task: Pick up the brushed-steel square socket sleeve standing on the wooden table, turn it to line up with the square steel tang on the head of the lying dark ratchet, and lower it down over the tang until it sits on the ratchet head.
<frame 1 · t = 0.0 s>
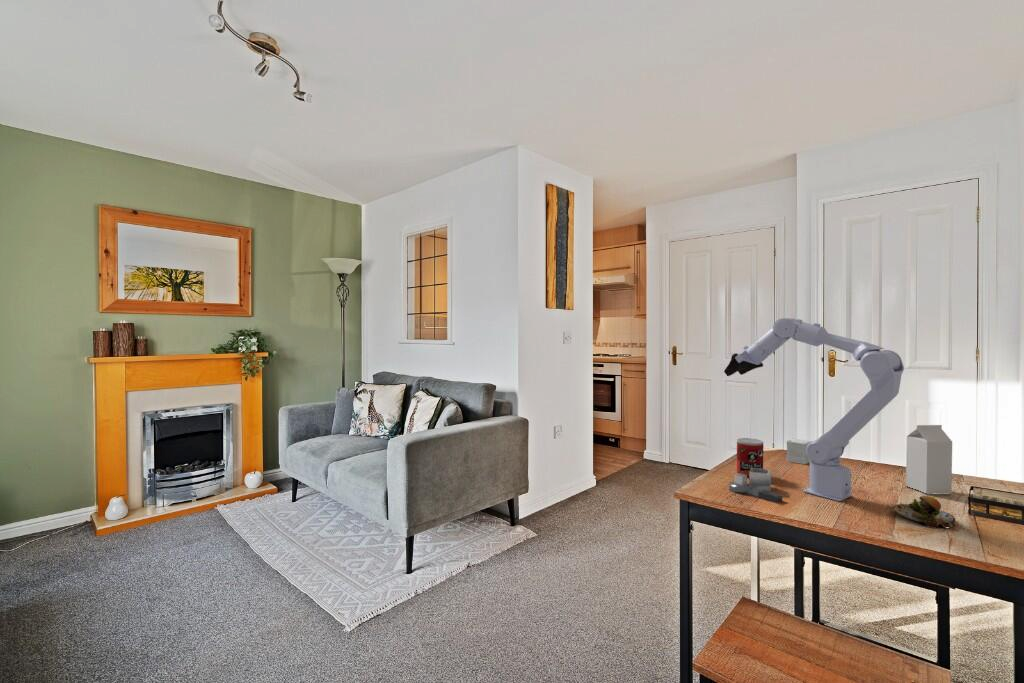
hand: (732, 373, 158), 32 cm above the table, tool tilted 50°, fingers open, 7 cm apart
milk carton: (928, 491, 138), on the table
skincare box: (798, 462, 168), on the table
socket: (760, 487, 141), on the table
ratchet: (740, 490, 138), on the table
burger: (923, 520, 117), on the table
canned food: (749, 475, 153), on the table
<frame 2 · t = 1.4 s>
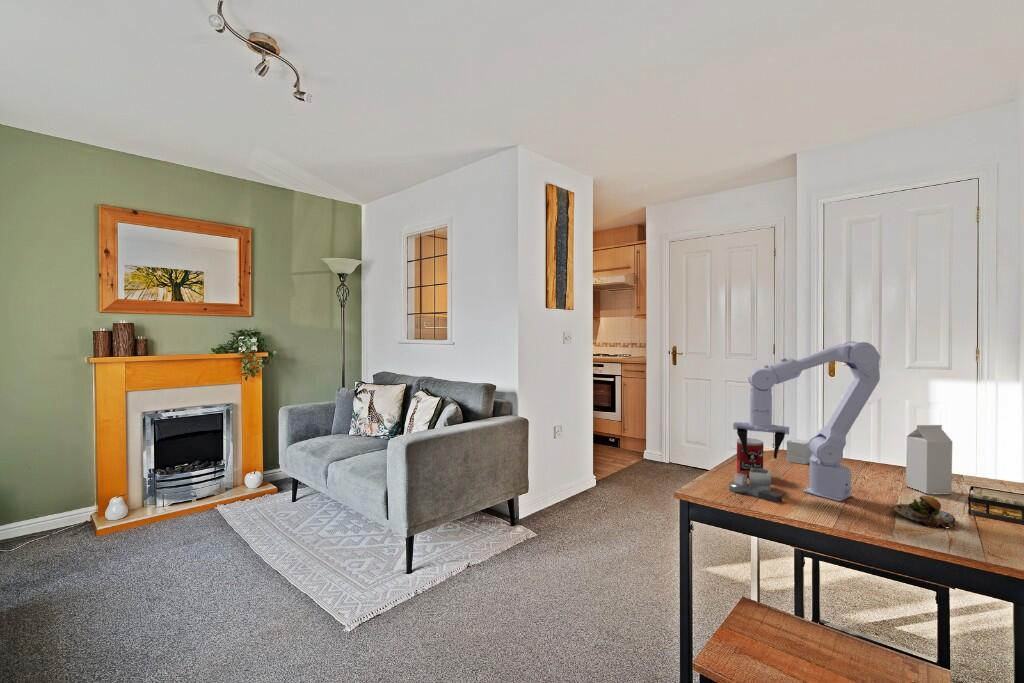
hand: (760, 456, 140), 9 cm above the table, tool pointing down, fingers open, 7 cm apart
nothing on the table moved.
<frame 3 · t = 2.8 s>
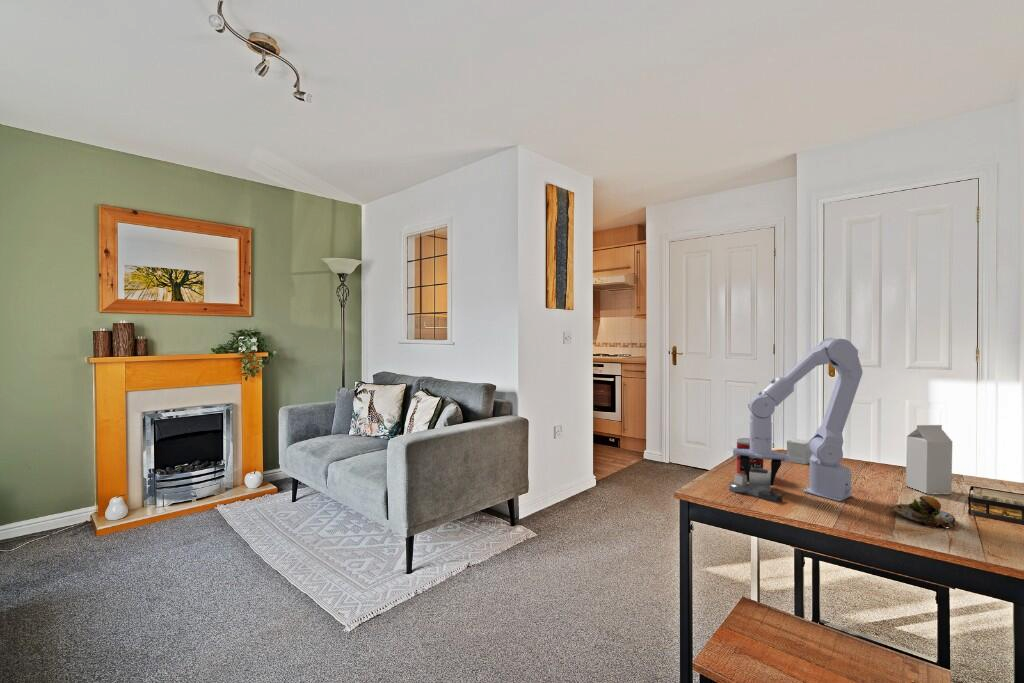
hand: (760, 483, 141), 1 cm above the table, tool pointing down, fingers closed on socket, 5 cm apart
socket: (760, 487, 141), on the table, touching gripper
everything else where it was.
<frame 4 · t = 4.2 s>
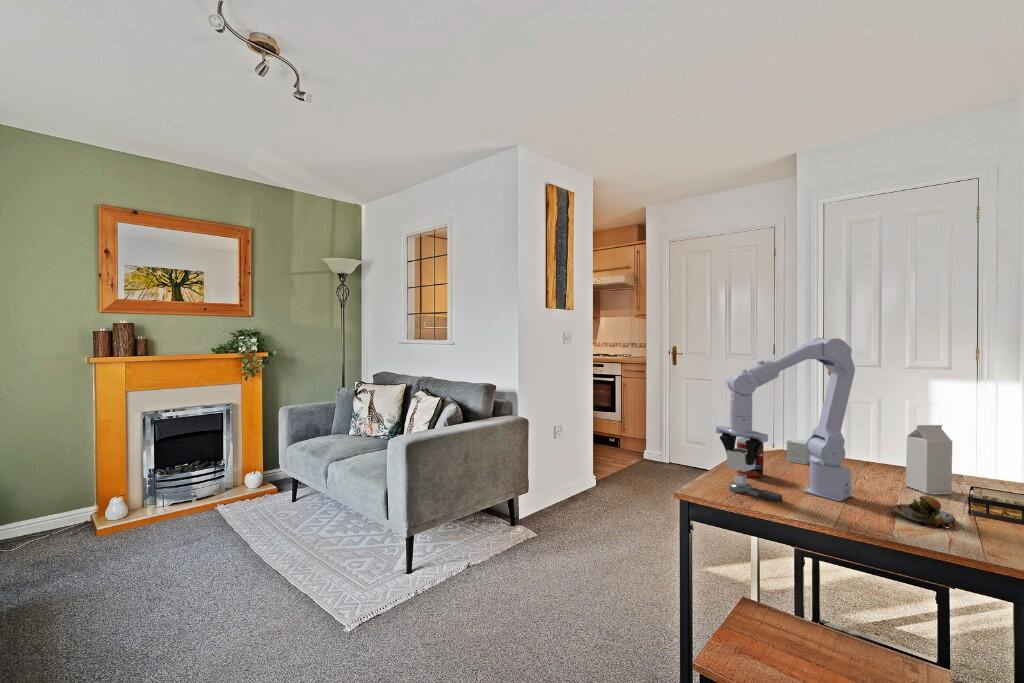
hand: (740, 462, 138), 8 cm above the table, tool pointing down, fingers closed on socket, 5 cm apart
socket: (740, 467, 138), point 7 cm above the table, touching gripper
everything else where it was.
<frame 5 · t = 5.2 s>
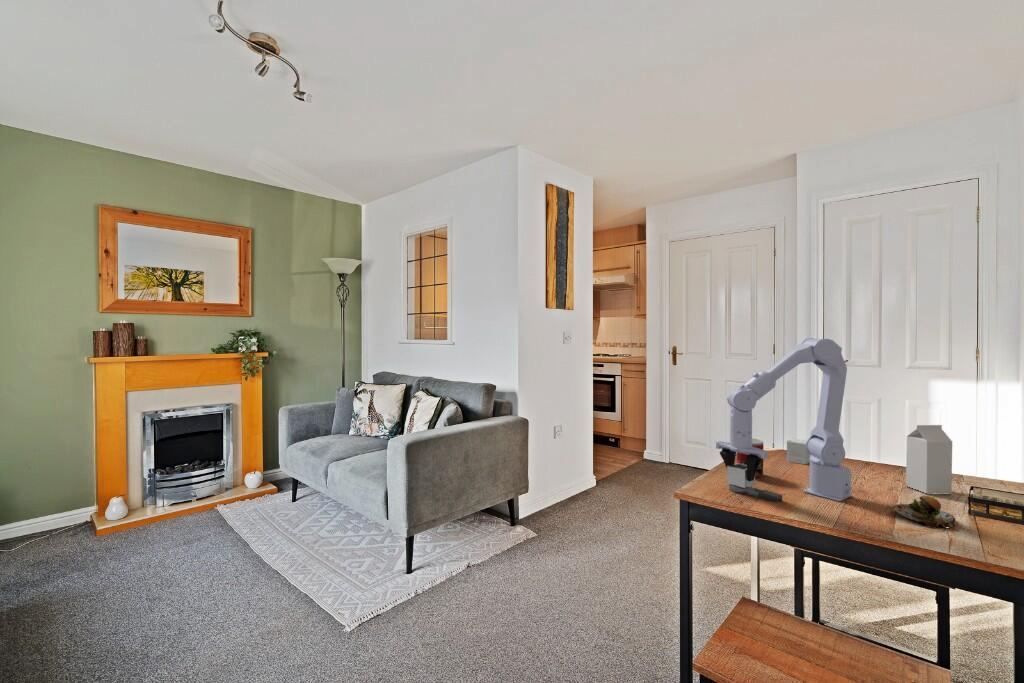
hand: (740, 477, 138), 4 cm above the table, tool pointing down, fingers closed on socket, 5 cm apart
socket: (740, 483, 138), point 2 cm above the table, touching gripper
everything else where it was.
when the fingers open (4 cm above the table, at t = 6.0 s): socket stays where it is, resting on ratchet.
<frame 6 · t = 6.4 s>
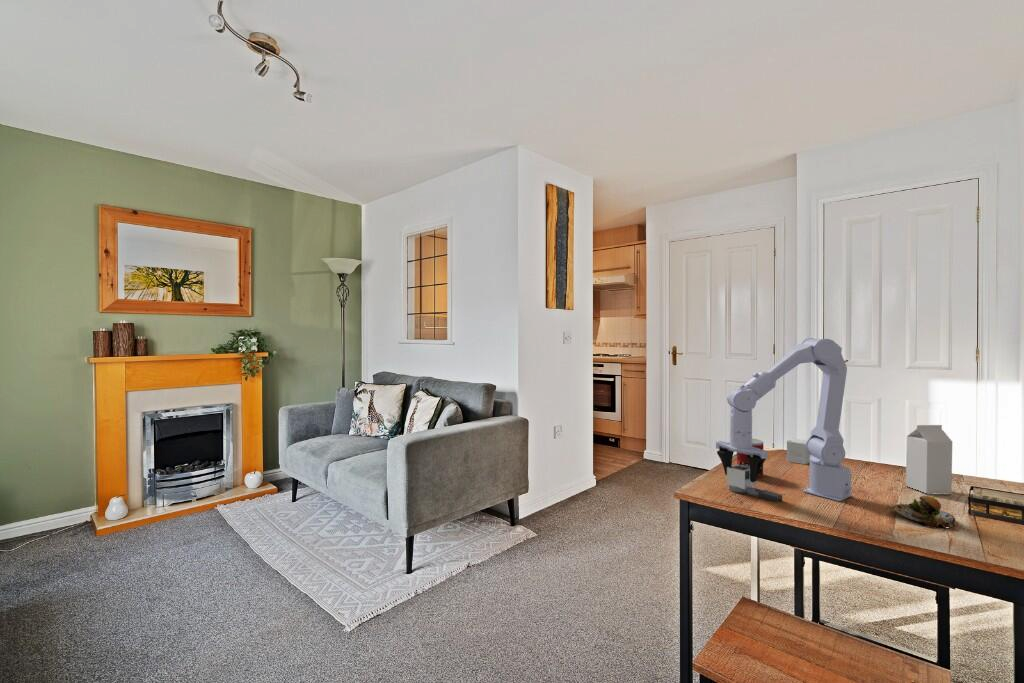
hand: (740, 477, 138), 4 cm above the table, tool pointing down, fingers open, 7 cm apart
socket: (740, 485, 138), point 2 cm above the table, touching ratchet
everything else where it was.
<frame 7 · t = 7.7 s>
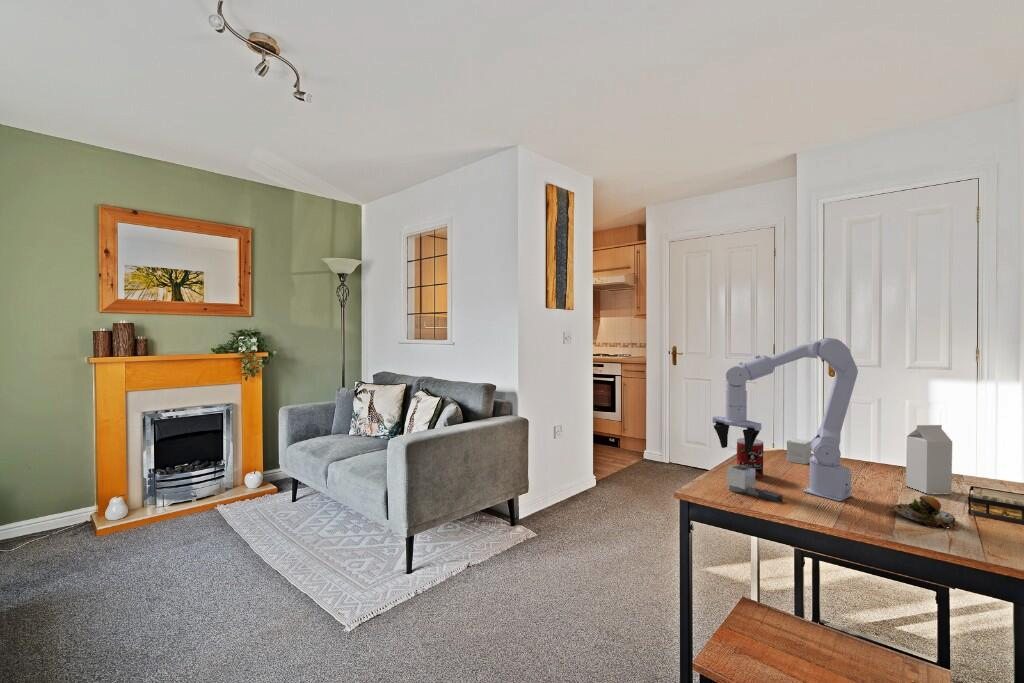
hand: (735, 450, 146), 10 cm above the table, tool pointing down, fingers open, 7 cm apart
nothing on the table moved.
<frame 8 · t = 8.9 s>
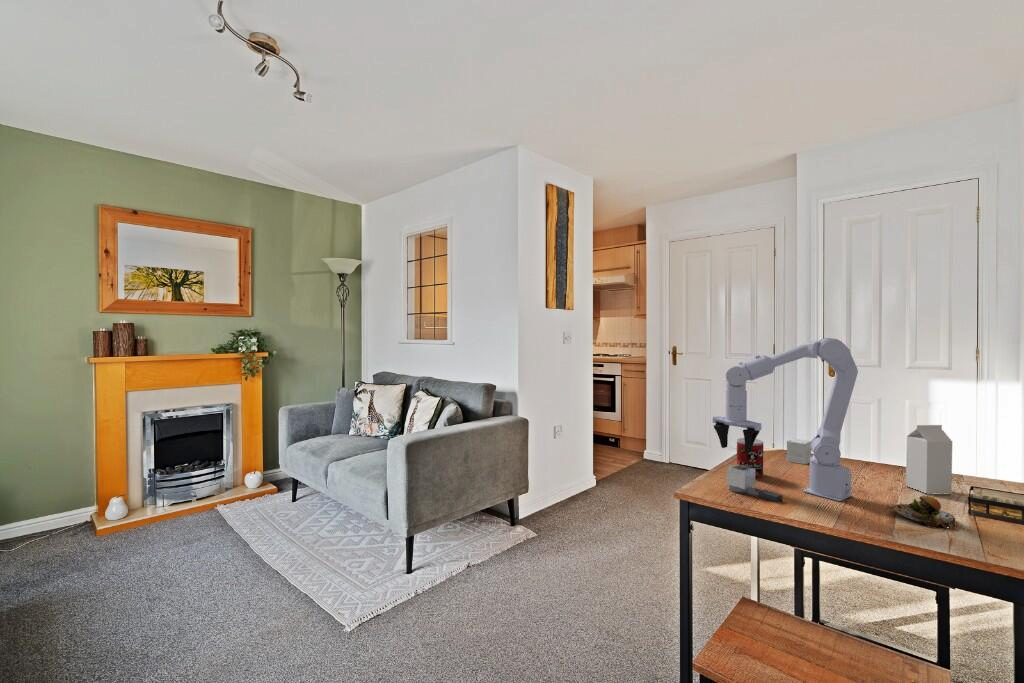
hand: (735, 450, 146), 10 cm above the table, tool pointing down, fingers open, 7 cm apart
nothing on the table moved.
at the end: socket 0.1 cm off-centre on the ratchet, point 1.6 cm above the ratchet's base; socket tilted 0°; the gripper is holding nothing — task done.
